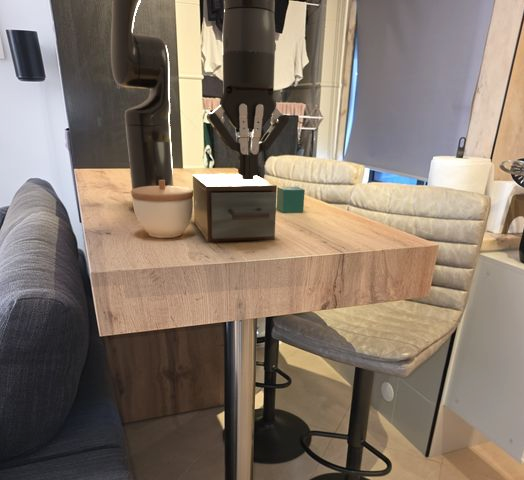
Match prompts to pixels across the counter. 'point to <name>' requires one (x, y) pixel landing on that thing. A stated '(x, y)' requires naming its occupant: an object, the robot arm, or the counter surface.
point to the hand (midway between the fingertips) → (247, 179)
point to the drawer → (243, 214)
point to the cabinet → (222, 183)
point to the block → (290, 199)
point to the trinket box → (163, 209)
